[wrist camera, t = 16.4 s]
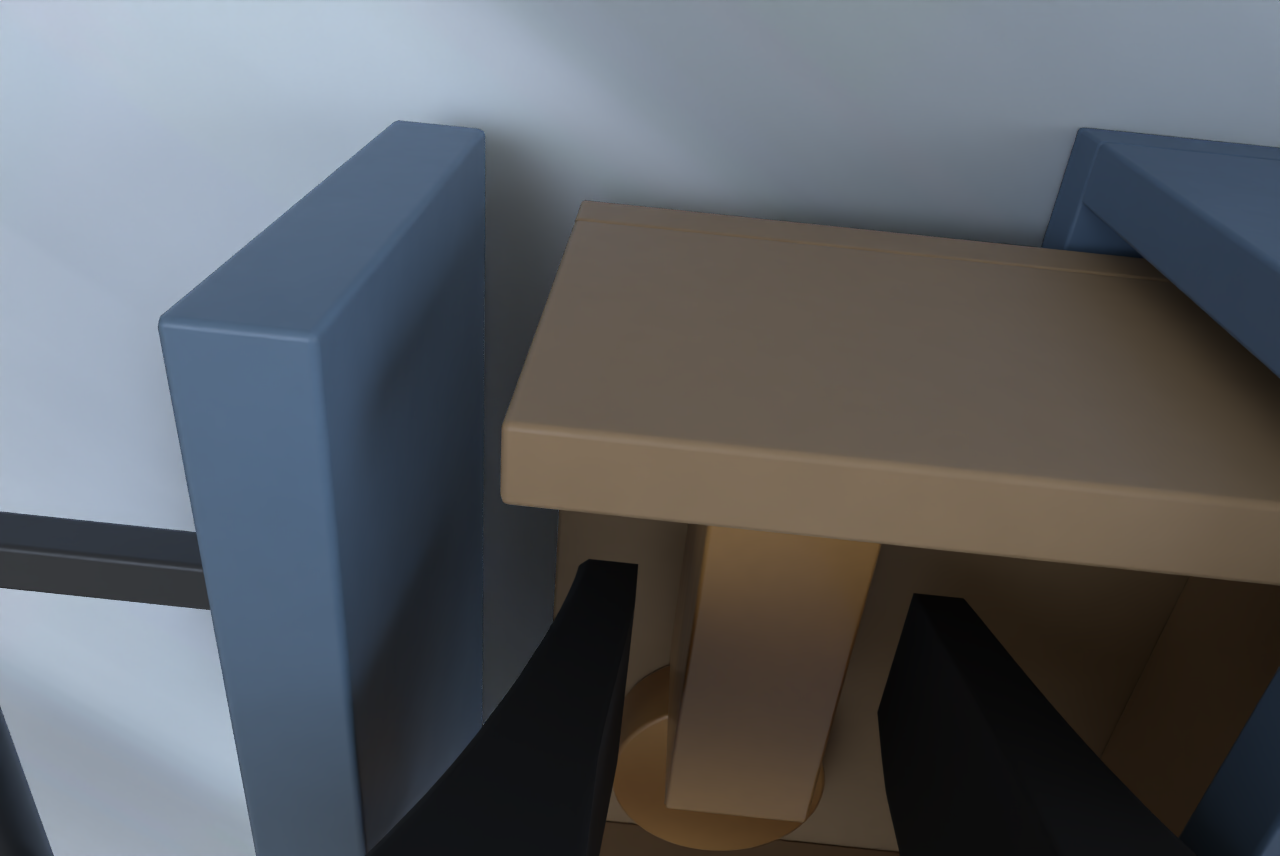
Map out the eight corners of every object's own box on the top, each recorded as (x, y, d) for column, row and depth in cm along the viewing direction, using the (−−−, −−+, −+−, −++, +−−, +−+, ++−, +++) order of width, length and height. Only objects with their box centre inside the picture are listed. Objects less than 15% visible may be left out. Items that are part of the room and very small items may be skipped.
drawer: (160, 773, 19) (-54, 1132, 14) (-15, 75, 12) (-577, 241, 7) (1045, 868, 19) (1180, 1265, 14) (1362, 219, 12) (1885, 499, 7)
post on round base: (653, 351, 13) (641, 478, 10) (911, 378, 13) (966, 511, 10) (608, 787, 17) (591, 952, 14) (799, 806, 17) (817, 976, 14)
